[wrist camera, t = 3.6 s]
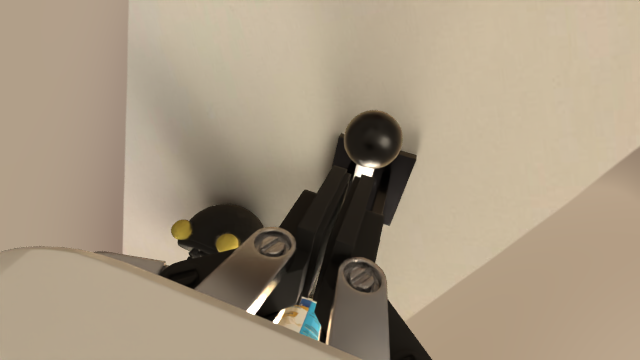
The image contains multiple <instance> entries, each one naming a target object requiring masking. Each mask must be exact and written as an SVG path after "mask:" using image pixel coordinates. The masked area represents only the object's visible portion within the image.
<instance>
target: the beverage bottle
mask: <svg viewBox="0 0 640 360" xmlns="http://www.w3.org/2000/svg"><path fill="white" fill-rule="evenodd" d="M316 303H317V302H315V301H313V299H311V298H308V299H307V298H305V297H302V300H301V302H300V304H299V306H298V305H294V306H291V307H289V308H286V309H285V311H284V313H283V315H282V317H281V319H280V320H279V322H278V324H279V325H281V326H284V327H286V328H288V329H291V330H293V331H296V332H298V333H300V334H303V335H305V336H308V337H310V338H312V339H315V340H317V341H318V337H319V331H320V328H321V325H320V323H319V321H318V319H317V317H316V315H315V313H314V311H315V307H316Z"/></svg>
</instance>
